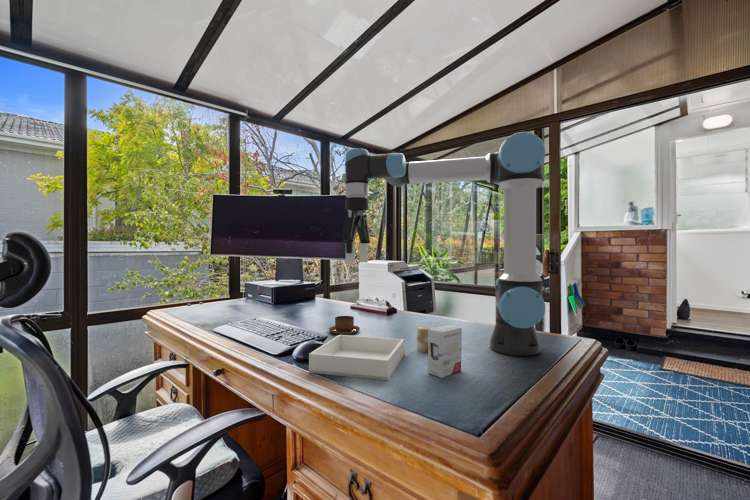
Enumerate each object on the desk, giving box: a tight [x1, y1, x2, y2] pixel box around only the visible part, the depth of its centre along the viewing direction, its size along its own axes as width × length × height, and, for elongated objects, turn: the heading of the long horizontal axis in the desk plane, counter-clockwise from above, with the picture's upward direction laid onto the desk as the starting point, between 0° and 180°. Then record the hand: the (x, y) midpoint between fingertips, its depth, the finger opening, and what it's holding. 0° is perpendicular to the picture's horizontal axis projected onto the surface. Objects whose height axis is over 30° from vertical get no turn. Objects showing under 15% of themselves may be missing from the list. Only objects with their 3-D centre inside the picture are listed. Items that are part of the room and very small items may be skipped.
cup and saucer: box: [328, 315, 361, 335], centre depth 138 cm, size 12×12×6 cm
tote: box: [308, 334, 406, 382], centre depth 101 cm, size 22×22×5 cm
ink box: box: [427, 324, 463, 379], centre depth 94 cm, size 9×5×12 cm, turn 129°
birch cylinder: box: [416, 326, 432, 353], centre depth 114 cm, size 5×5×7 cm
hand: (357, 263), depth 115 cm, fingers open, 13 cm apart
